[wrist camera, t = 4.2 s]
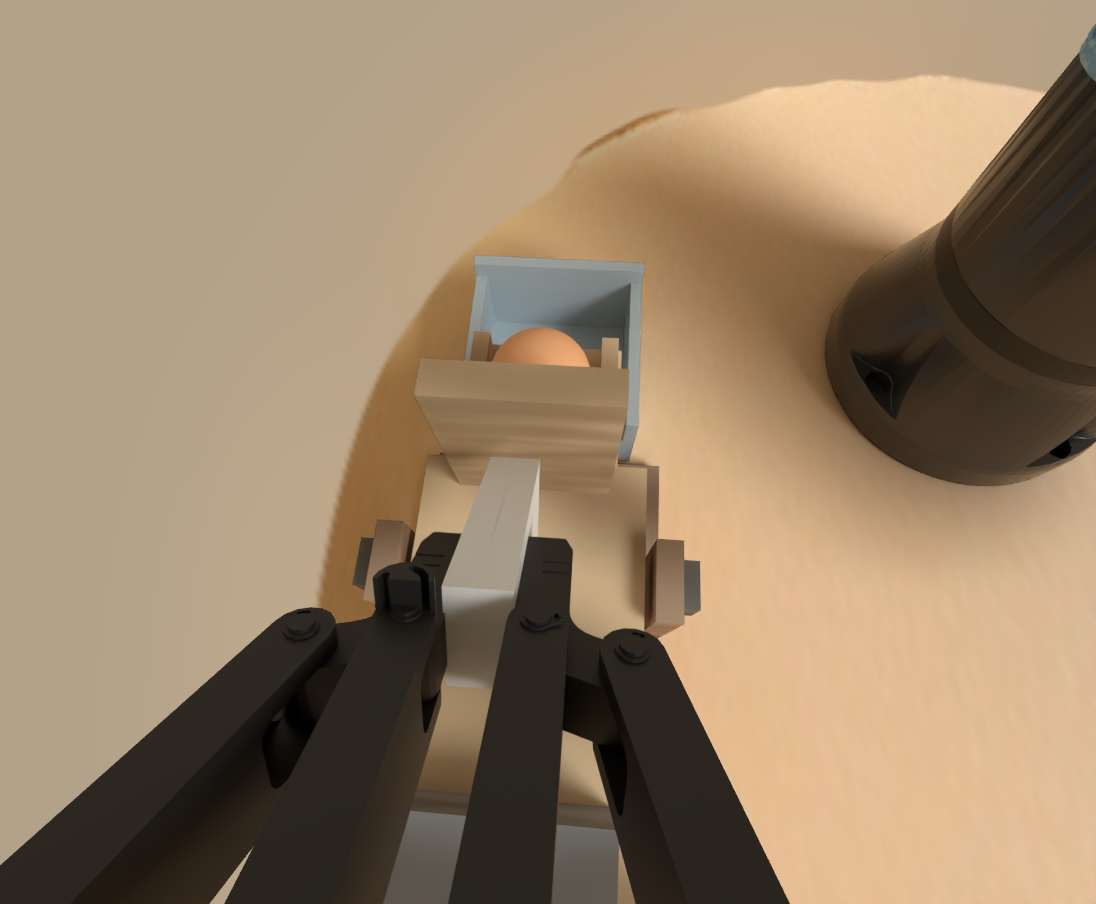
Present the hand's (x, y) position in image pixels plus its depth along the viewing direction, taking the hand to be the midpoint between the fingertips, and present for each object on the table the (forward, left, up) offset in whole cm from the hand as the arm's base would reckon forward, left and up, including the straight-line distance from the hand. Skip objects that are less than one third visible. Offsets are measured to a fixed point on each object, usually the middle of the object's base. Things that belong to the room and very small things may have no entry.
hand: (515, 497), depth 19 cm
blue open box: (-11, -4, -15) cm, 19 cm away
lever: (+2, +1, -6) cm, 7 cm away
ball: (-6, -2, -3) cm, 7 cm away
